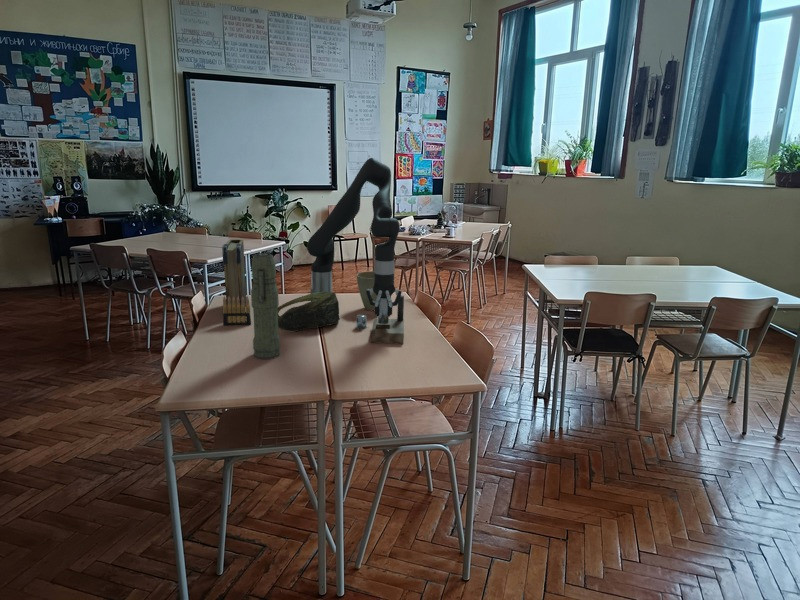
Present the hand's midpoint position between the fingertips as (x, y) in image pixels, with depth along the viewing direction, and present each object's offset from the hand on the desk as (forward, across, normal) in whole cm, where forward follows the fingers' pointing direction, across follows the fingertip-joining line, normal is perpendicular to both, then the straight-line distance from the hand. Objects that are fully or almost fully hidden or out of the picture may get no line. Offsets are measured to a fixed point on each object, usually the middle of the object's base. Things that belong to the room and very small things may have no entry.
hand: (383, 315), depth 201 cm
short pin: (+8, -9, +10) cm, 16 cm away
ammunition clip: (+9, -59, +10) cm, 60 cm away
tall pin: (+3, 0, 0) cm, 3 cm away
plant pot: (+9, -6, +38) cm, 40 cm away
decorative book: (+9, -66, +31) cm, 73 cm away
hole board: (+8, +2, +1) cm, 9 cm away
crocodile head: (+9, -31, +9) cm, 33 cm away
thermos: (+9, -39, -22) cm, 46 cm away
